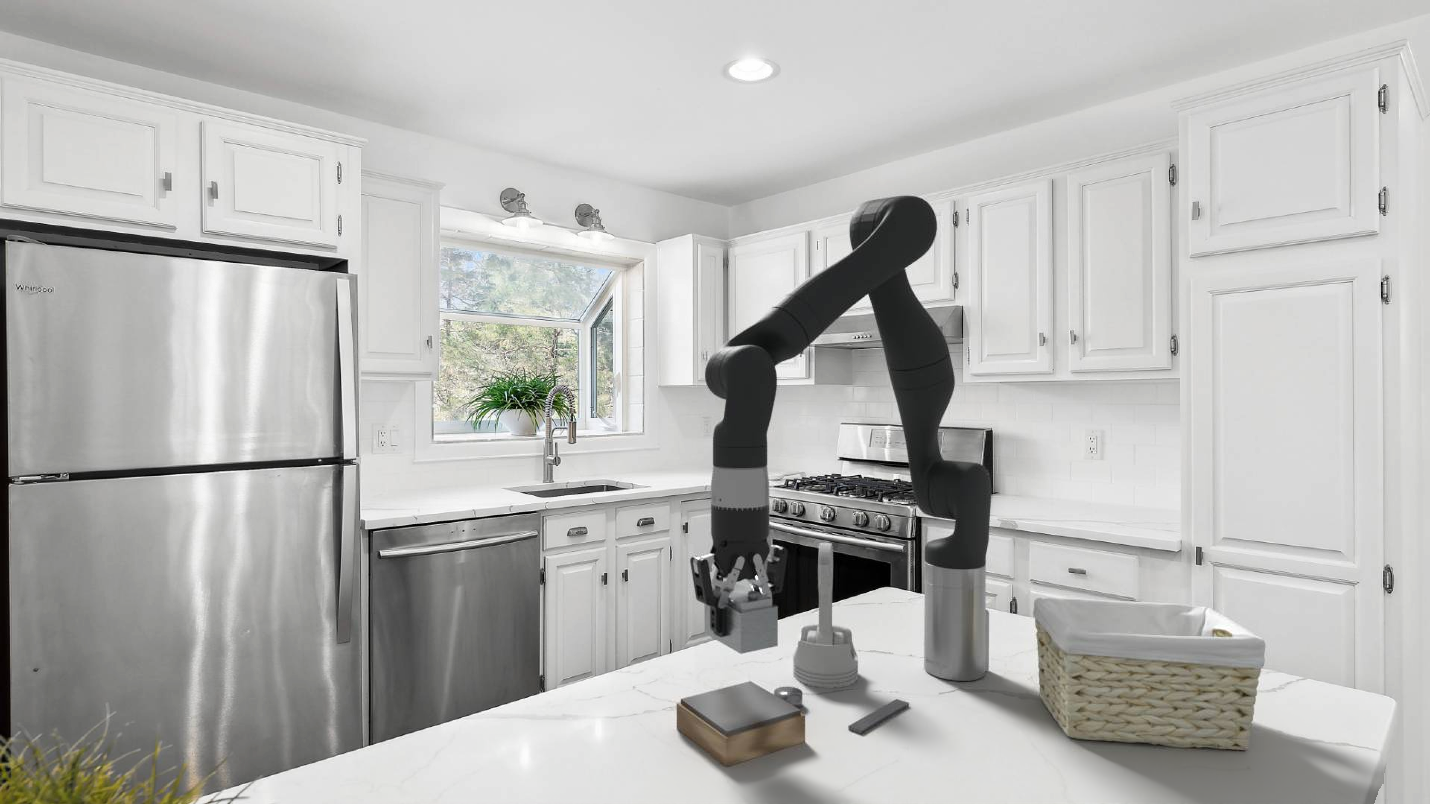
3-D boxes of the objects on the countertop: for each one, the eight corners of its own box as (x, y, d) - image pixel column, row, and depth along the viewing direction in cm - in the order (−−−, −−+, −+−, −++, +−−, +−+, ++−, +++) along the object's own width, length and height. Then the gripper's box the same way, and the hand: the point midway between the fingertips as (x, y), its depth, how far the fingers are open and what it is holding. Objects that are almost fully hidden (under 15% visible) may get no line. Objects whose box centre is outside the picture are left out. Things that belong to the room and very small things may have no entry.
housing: (777, 646, 96) (777, 592, 96) (740, 653, 94) (740, 598, 93) (739, 626, 104) (739, 577, 104) (704, 633, 101) (704, 582, 101)
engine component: (789, 685, 116) (857, 690, 114) (789, 550, 115) (857, 553, 113) (796, 659, 126) (858, 663, 124) (796, 536, 126) (858, 538, 124)
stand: (751, 707, 107) (751, 679, 107) (805, 741, 97) (805, 710, 97) (676, 728, 101) (676, 698, 101) (726, 767, 91) (726, 733, 91)
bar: (896, 705, 109) (896, 699, 109) (909, 709, 108) (909, 703, 108) (848, 733, 101) (848, 726, 101) (861, 738, 99) (861, 730, 99)
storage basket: (1205, 704, 108) (1206, 601, 108) (1270, 760, 92) (1272, 639, 92) (1028, 695, 112) (1029, 595, 112) (1062, 747, 96) (1063, 630, 96)
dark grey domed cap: (790, 698, 111) (790, 684, 111) (808, 707, 108) (808, 693, 108) (768, 704, 109) (768, 690, 109) (785, 714, 106) (785, 700, 106)
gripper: (708, 510, 91) (708, 650, 92) (802, 500, 99) (802, 629, 99) (677, 502, 98) (677, 633, 98) (767, 493, 105) (768, 614, 106)
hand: (740, 630), depth 99 cm, fingers closed on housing, 5 cm apart
